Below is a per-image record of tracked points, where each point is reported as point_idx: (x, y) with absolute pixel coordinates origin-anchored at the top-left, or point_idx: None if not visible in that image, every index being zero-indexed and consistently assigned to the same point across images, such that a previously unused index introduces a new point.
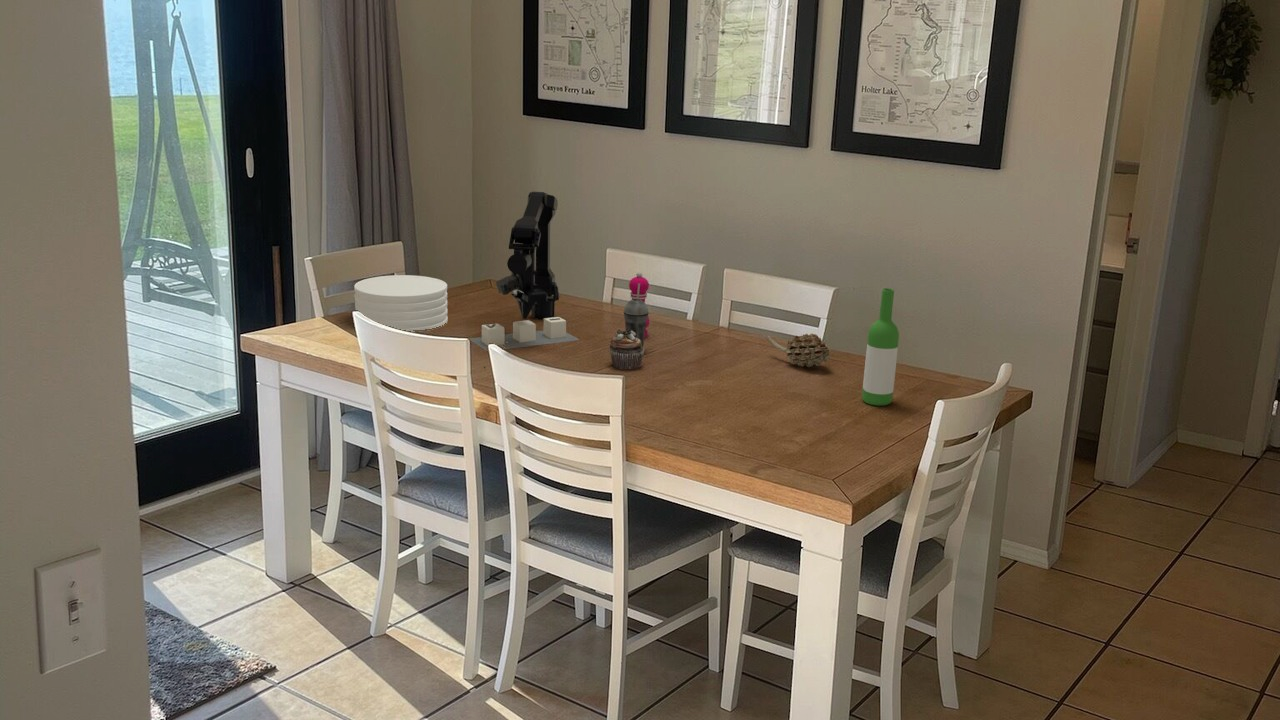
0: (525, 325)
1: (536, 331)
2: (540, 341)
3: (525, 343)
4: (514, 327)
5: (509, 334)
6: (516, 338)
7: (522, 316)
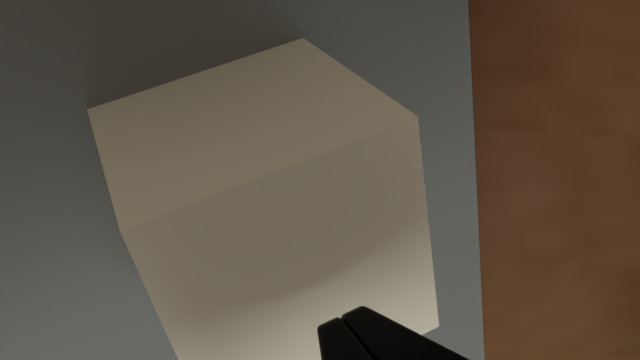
0: (157, 310)
1: (465, 276)
2: (118, 331)
3: (26, 174)
4: (328, 104)
5: (449, 15)
6: (207, 78)
7: (359, 336)
